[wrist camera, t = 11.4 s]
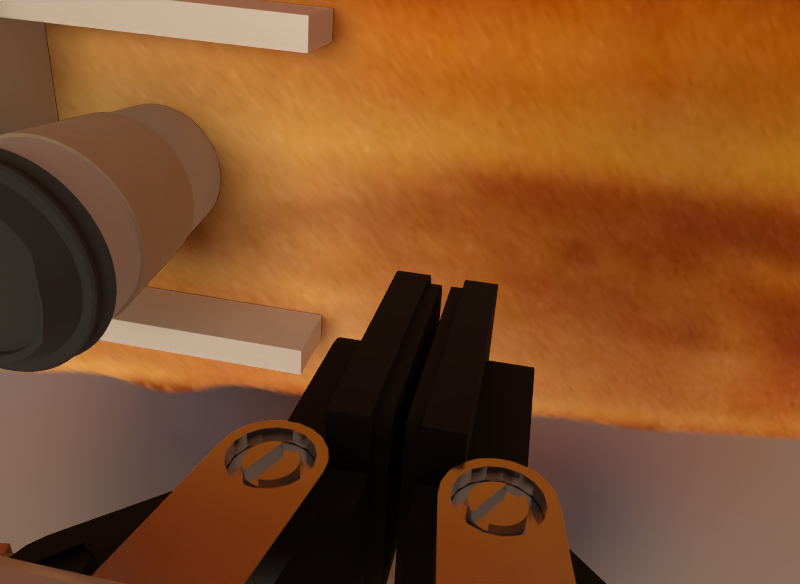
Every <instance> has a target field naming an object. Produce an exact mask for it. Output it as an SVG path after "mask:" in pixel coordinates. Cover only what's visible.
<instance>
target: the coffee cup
mask: <svg viewBox="0 0 800 584" xmlns="http://www.w3.org/2000/svg"><path fill="white" fill-rule="evenodd" d="M220 184H221V174H220V167H219V162H218V158H217V155H216V153H215V150H214V148H213V146H212V144H211V142H210V141H209V139H208V138H207V136H206V135H205V133H204V132H203V131H202V130H201V129H200V127H199V126H198V125H197V124H196V123H194V122H193V121H192V120H191V119H190V118H188V117H187V116H186V115H184V114H182V113H181V112H179V111H177V110H175V109H172V108H170V107H167V106H163V105H157V104H143V105H138V106H134V107H130V108H126V109H121V110H117V111H113V112H109V113H107V112H100V113H92V114H87V115H83V116H79V117H74V118H70V119H66V120H62V121H57V122H53V123H49V124H44V125H40V126H36V127H32V128H27V129H23V130H19V131H14V132H10V133H6V134H2V135H0V368H2V369H6V370H12V371H22V372H35V371H43V370H48V369H51V368H54V367H57V366H59V365H61V364H63V363H65V362H67V361H68V360H70V359H71V358H73V357H74V356H76V355H79V354H81V353H83V352H84V351H86V350H88V349H89V348H90V347H92V346H93V345H94V344H95V343H96V342H97V341H98V340H99V339H100V338H101V337H102V336H103V334H104V333H105V331H106V330H107V328H108V326H109V324H110V322H111V320H112V319H113V318H114V317H116V316H118V315H119V314H120V313H122V312H123V311H124V310H125V309H126V308H127V307H128V306H129V305H130V304H131V303H132V301H133V300H134V299H135V298H136V297H137V296H138V295H139V294H140V292H141V291H142V290H143V289H144V288H145V287H146V286H147V285H148V283H149V282H150V281H151V280H152V279H153V278H154V277H155V276H156V274H157V273H158V272H159V271H160V270H161V269H162V268H163V267H164V265H165V264H166V263H167V262H168V261H169V260H170V259H171V258H172V256H173V255H174V254H175V253H176V252H177V251H178V250H179V249H180V247H181V246H182V245H183V244H184V242H185V240H186V239H187V237H188V235H189V234H190V233H191V232H192V231H193V230H194V228H195V227H196V226H197V225H198V224H199V223H200V222H201V221H202V220H203V219H204V218H205V217H206V215H207V214H208V213H209V212H210V211H211V210H212V208H213V206H214V205H215V203H216V201H217V198H218V195H219V191H220Z"/></svg>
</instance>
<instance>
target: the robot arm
mask: <svg viewBox="0 0 800 584" xmlns="http://www.w3.org/2000/svg"><path fill="white" fill-rule="evenodd" d="M497 291H498V284H491V283H484V282H477V281H469V280H465V282H464V286H463V288H457V287H451V289H450V292H449V295H448V298H447V301H446V304H445V307H444V310H443V313H442V316H441V319H440V308H441V297H442V285H436V284H431V276H430V275H426V274H418V273H411V272H404V271H397V273H396V275H395V276H394V278H393V280H392V282H391V284H390V286H389V288H388V290H387V292H386V294H385V296H384V298H383V300H382V301H381V303H380V305H379V307H378V309H377V311H376V313H375V315H374V317H373V319H372V321H371V323H370V325H369V326H368V328H367V330H366V332H365V334H364V336H363V338H362V340H361V341H360V340H354V339H347V338H341V337H340V338H337V339H336V340H335V342H334V343H333V345H332V346H331V348H330V350H329V351H328V353H327V355H326V357H325V358H324V360H323V362H322V363H321V365H320V367H319V368H318V370H317V372H316V374H315V375H314V377H313V379H312V380H311V382H310V384H309V385H308V387H307V389H306V391H305V392H304V394H303V396H302V397H301V399H300V401H299V402H298V404H297V406H296V408H295V409H294V411H293V413H292V415H291V416H290V418H289V420H288V421H284V420H276V421H275V420H274V421H262V422H258V423H254V424H249V425H247V426H244V427H242V428H240V429H238V430H236V431H234V432H232V433H231V434H230V435H228V436H227V437H226V438H224V439H223V440H222V441H221V442H220V443H219V444H218V445H217V446H216V447H215V448H214V449H213V450H212V451H211V452H210V453H209V454H208V455H207V456H206V457H205V458H204V459H203V460H202V461H201V463H200V464H199V465H198V466H197V467H196V468H195V469H194V470H193V471H192V472H191V473H190V474H189V475H188V476H187V477H186V478H185V479H184V480H183V481H182V482H181V483H180V484H179V485H178V487H176V488H175V490H174V491H171V492H168V493H166V494H163V495H160V496H157V497H154V498H152V499H149V500H146V501H143V502H140V503H137V504H135V505H132V506H129V507H126V508H123V509H121V510H118V511H115V512H112V513H109V514H106V515H104V516H101V517H98V518H95V519H92V520H89V521H87V522H84V523H81V524H78V525H75V526H73V527H70V528H67V529H64V530H61V531H58V532H56V533H53V534H50V535H47V536H45V537H43V538H41V539H39V540H36V541H34V542H32V543H30V544H28V545H26V546H25V547H23V548H22V549H20V550H19V551H18V552H16V553H12V549H11V546H10V544H7V543H0V584H386V583H387V580H388V576H389V573H390V569H391V565H392V562H393V558H394V555H395V551H396V548H397V551H396V567H395V582H394V584H606V583H605V582H604V581H603V580H602V579H601V578H600V577H598V576H597V575H596V574H595V573H594V572H593V571H592V570H591V569H590V568H589V567H588V566H587V565H586V564H585V563H584V562H583V561H582V560H581V559H579V558H578V557H577V556H576V555H575V554H574V553H573V552H572V551H571V550H570V549H569V546H568V541H567V536H566V532H565V526H564V521H563V516H562V511H561V506H560V503H559V500H558V498H557V495H556V493H555V491H554V489H553V488H552V487H551V486H550V485H549V484H548V482H547V481H546V480H545V479H544V478H543V477H541V476H540V475H538V474H537V473H536V472H534V471H533V470H531V469H530V468H528V454H529V440H530V425H531V412H532V397H533V383H534V367H527V366H521V365H514V364H508V363H502V362H495V361H489V353H490V346H491V338H492V330H493V322H494V315H495V307H496V299H497ZM439 320H440V322H439Z"/></svg>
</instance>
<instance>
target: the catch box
mask: <svg viewBox="0 0 800 584" xmlns="http://www.w3.org/2000/svg"><path fill="white" fill-rule="evenodd" d="M44 22H46V23H54V24H63V25H71V26H80V27H88V28H97V29H105V30H114V31H122V32H131V33H139V34H148V35H156V36H165V37H173V38H182V39H190V40H199V41H207V42H216V43H224V44H233V45H241V46H250V47H258V48H267V49H275V50H284V51H292V52H301V53H310V52H312V51H314V50H316V49H318V48H320V47H323V46H325V45H327V44H329V43H331V42H332V31H333V8H326V7H317V6H308V5H299V4H289V3H280V2H271V1H262V0H0V135H2V134H6V133H10V132H14V131H19V130H23V129H27V128H32V127H36V126H40V125H44V124H49V123H53V122H57V121H58V115H57V108H56V101H55V94H54V87H53V80H52V73H51V66H50V59H49V52H48V46H47V39H46V32H45V25H44ZM321 325H322V315H317V314H311V313H305V312H299V311H292V310H286V309H280V308H274V307H268V306H262V305H255V304H249V303H243V302H237V301H231V300H225V299H219V298H212V297H206V296H200V295H194V294H188V293H182V292H176V291H169V290H163V289H157V288H151V287H145V288H144V289H143V290H142V291H141V292H140V294H139V295H138V296H137V297H136V298H135V299H134V300H133V301H132V303H131V304H130V305H129V306H128V307H127V308H126V309H125V310H124V311H123V312H122V313H120V314H119V315H118V316H116V317H114V318H113V319H112V320H111V322H110V324H109V326H108V328H107V330H106V331H105V333H104V334H103V336H102V337H101V338H100V339H99V340H103V341H109V342H115V343H121V344H126V345H132V346H138V347H144V348H149V349H155V350H161V351H167V352H172V353H178V354H184V355H190V356H196V357H201V358H207V359H213V360H219V361H224V362H230V363H236V364H242V365H247V366H253V367H259V368H265V369H271V370H276V371H282V372H288V373H294V374H299V375H301V373H302V371H303V370H304V368H305V366H306V364H307V362H308V360H309V359H310V357H311V355H312V353H313V351H314V349H315V348H316V346H317V344H318V342H319V340H320V338H321Z"/></svg>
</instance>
